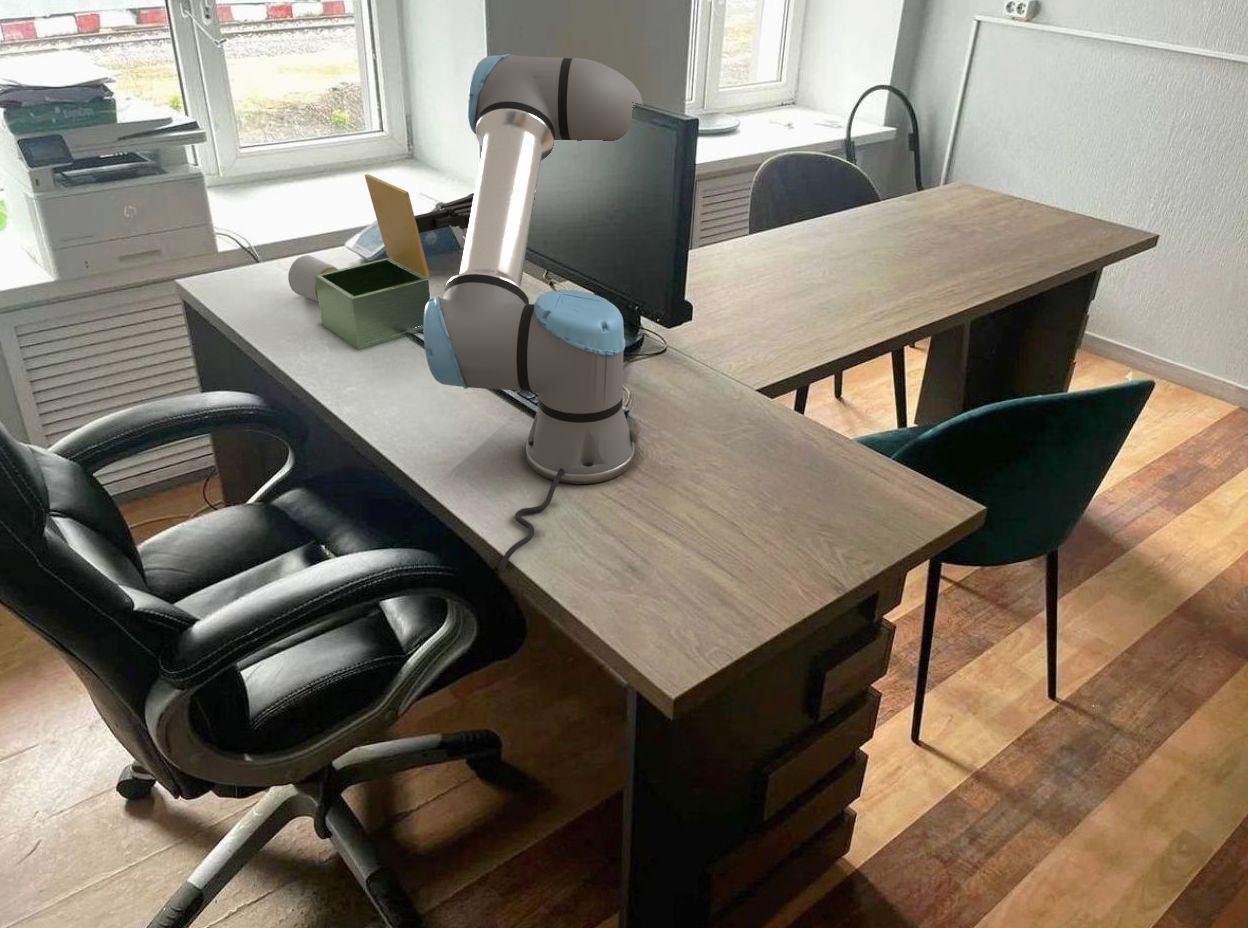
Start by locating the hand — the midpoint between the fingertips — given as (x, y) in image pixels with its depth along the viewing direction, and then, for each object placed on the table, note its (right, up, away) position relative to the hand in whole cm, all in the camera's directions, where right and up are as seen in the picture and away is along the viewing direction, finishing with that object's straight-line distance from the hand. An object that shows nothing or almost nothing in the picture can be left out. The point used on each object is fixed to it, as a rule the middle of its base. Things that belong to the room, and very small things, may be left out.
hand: (414, 224), depth 176 cm
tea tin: (-7, -17, +3) cm, 19 cm away
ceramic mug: (-20, -10, +15) cm, 27 cm away
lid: (-3, -1, -2) cm, 4 cm away
